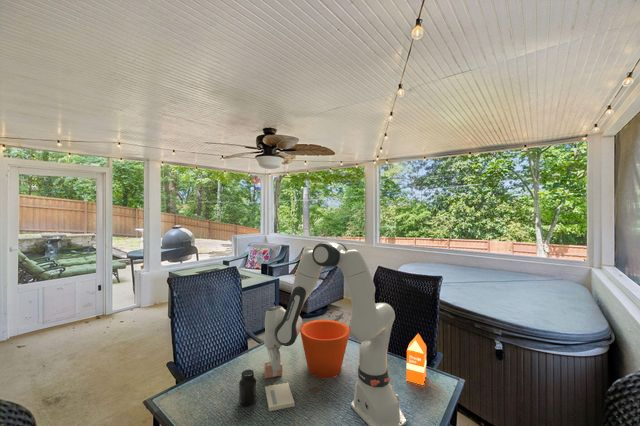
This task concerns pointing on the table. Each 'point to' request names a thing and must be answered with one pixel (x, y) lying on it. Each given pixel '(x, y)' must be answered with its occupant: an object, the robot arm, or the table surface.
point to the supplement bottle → (247, 389)
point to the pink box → (269, 372)
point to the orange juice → (416, 361)
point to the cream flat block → (279, 396)
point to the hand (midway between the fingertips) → (273, 369)
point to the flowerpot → (324, 346)
